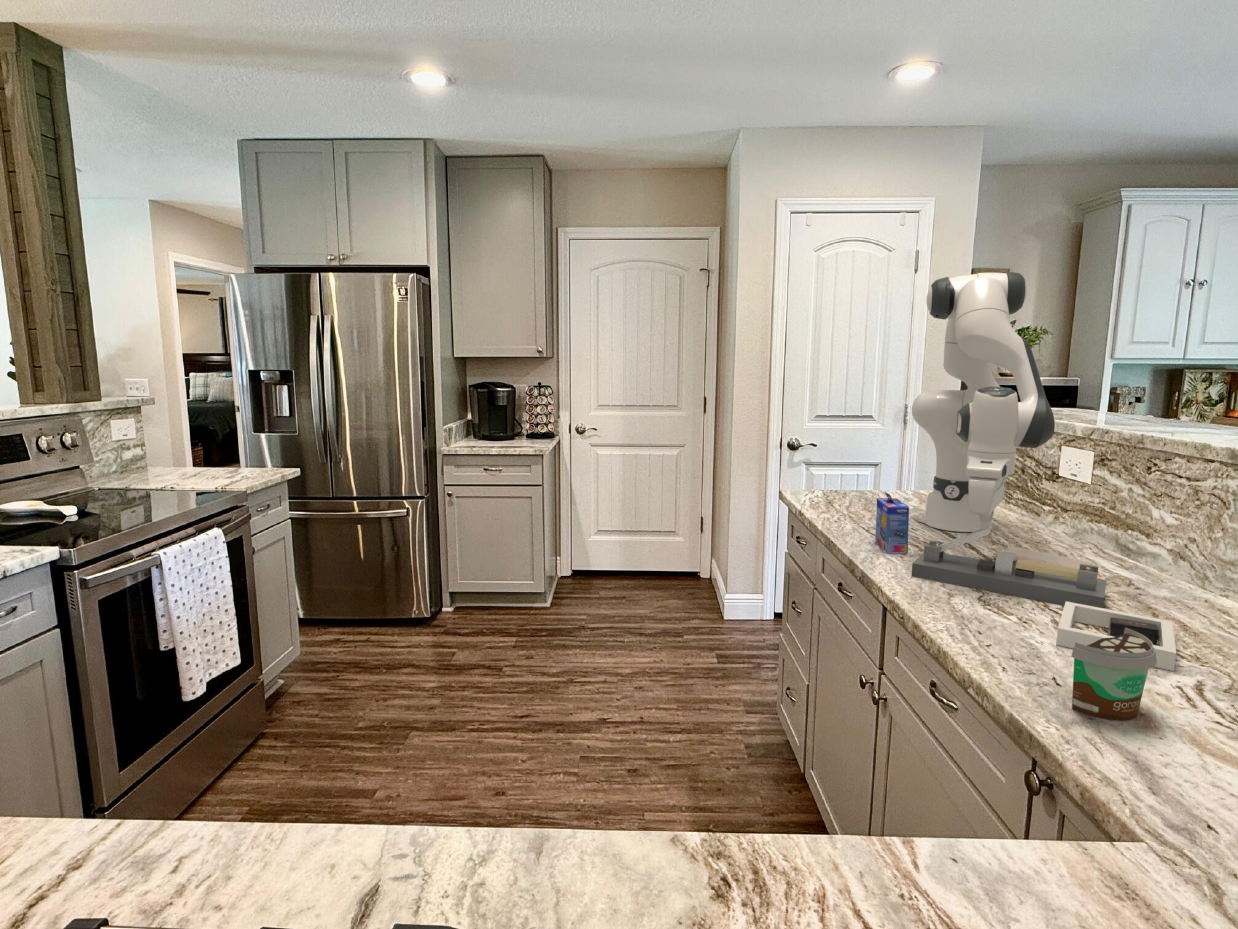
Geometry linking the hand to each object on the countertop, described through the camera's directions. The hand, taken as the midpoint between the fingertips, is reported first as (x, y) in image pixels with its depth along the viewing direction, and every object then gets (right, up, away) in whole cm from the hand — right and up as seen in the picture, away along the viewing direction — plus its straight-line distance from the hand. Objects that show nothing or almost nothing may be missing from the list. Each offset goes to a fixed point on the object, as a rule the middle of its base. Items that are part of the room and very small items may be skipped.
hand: (985, 528), depth 135 cm
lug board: (+4, -12, -1) cm, 13 cm away
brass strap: (+10, -9, -7) cm, 15 cm away
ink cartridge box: (-9, -8, +26) cm, 29 cm away
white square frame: (+6, -17, -28) cm, 33 cm away
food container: (-11, -20, -49) cm, 54 cm away
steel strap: (-3, -4, +4) cm, 7 cm away
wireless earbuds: (+10, -17, -27) cm, 33 cm away
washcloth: (+19, -11, +11) cm, 25 cm away
